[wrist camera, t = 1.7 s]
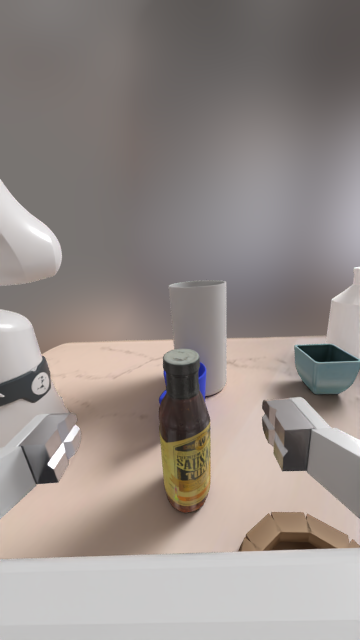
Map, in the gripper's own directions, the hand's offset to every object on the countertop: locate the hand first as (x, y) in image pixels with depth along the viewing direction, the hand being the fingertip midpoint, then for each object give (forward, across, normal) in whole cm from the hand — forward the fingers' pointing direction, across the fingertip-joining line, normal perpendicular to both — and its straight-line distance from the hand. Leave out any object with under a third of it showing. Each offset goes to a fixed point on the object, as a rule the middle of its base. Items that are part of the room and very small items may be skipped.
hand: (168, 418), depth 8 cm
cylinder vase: (+36, -3, +22) cm, 43 cm away
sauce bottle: (+12, +1, +23) cm, 26 cm away
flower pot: (+32, -30, +23) cm, 49 cm away
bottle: (+46, -48, +23) cm, 70 cm away
